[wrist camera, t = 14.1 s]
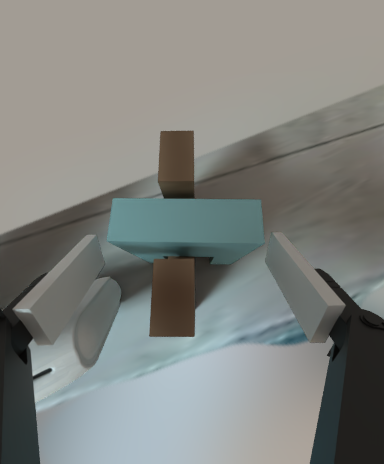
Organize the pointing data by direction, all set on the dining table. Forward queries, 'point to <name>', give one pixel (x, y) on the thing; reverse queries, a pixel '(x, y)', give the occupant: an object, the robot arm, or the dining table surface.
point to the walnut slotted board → (175, 267)
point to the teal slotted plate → (186, 228)
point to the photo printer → (76, 340)
